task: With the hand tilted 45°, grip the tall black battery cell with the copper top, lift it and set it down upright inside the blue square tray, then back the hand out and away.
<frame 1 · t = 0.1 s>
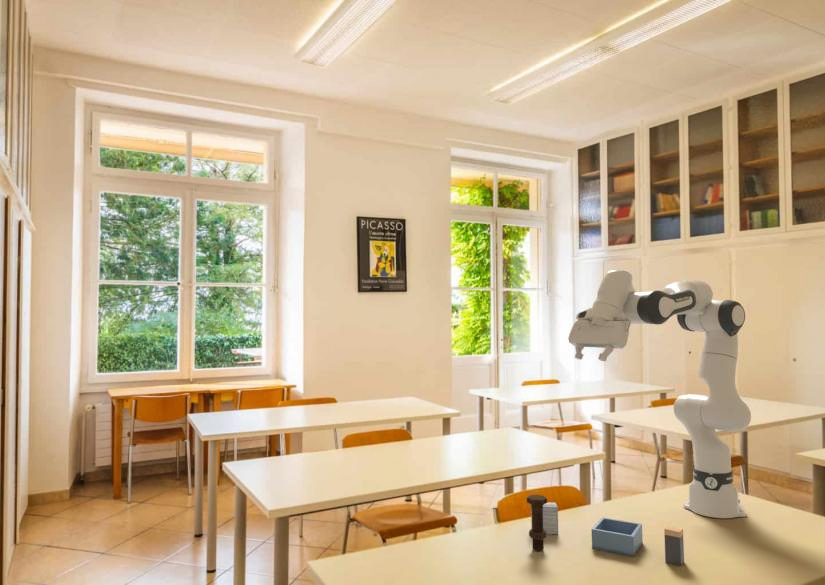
hand: (589, 359, 175), 54 cm above the table, tool tilted 30°, fingers open, 8 cm apart
battery cell: (674, 562, 160), on the table
medicine box: (544, 533, 184), on the table
bolt: (538, 550, 170), on the table
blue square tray: (617, 545, 172), on the table
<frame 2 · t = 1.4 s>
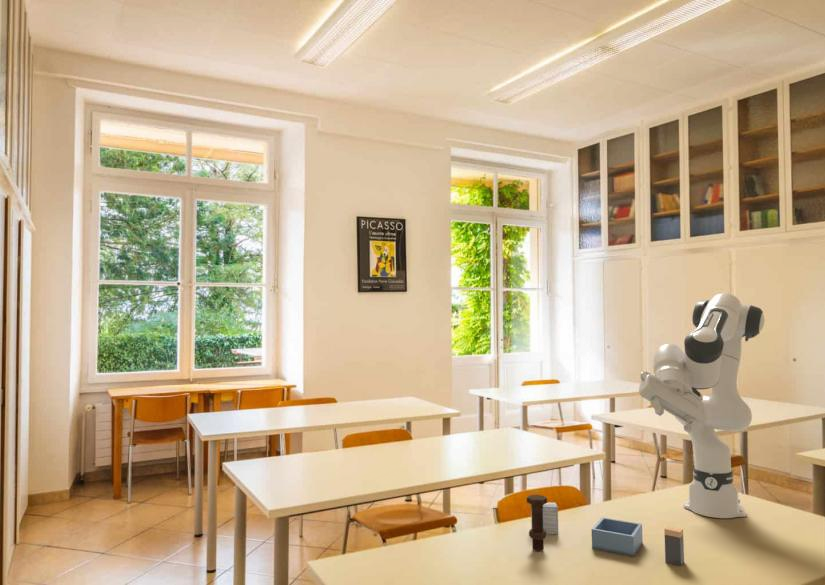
hand: (674, 422, 160), 38 cm above the table, tool tilted 55°, fingers open, 8 cm apart
nothing on the table moved.
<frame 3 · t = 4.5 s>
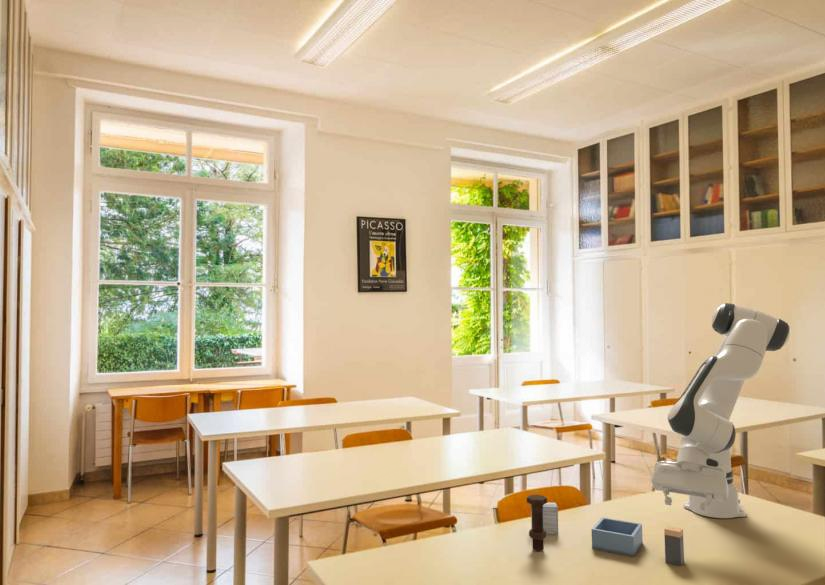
hand: (685, 507, 167), 13 cm above the table, tool tilted 45°, fingers open, 8 cm apart
nothing on the table moved.
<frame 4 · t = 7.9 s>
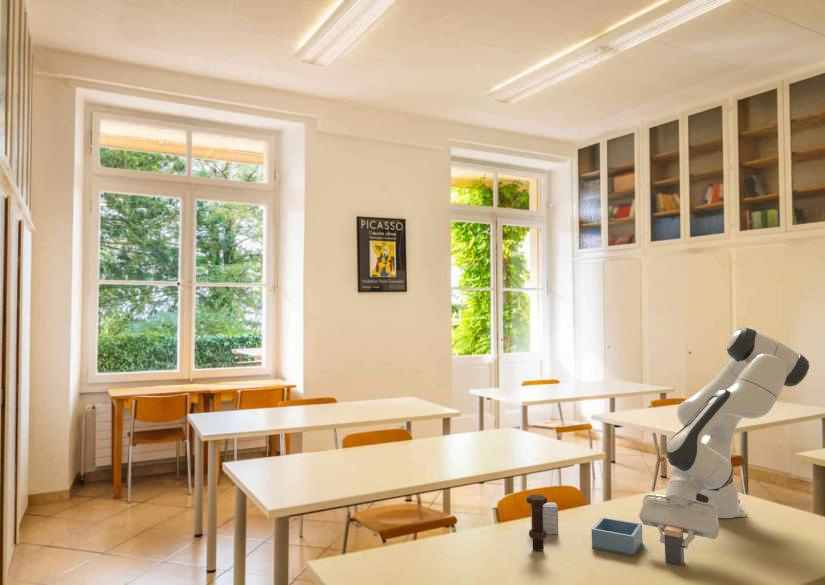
hand: (673, 544, 160), 5 cm above the table, tool tilted 45°, fingers closed on battery cell, 4 cm apart
battery cell: (674, 562, 160), on the table, touching gripper
everything else where it was.
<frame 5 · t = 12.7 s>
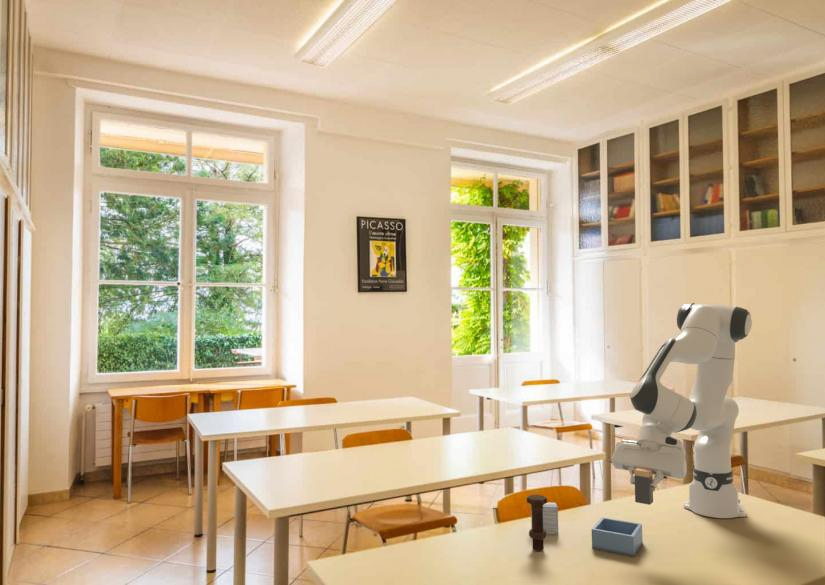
hand: (643, 485, 166), 19 cm above the table, tool tilted 45°, fingers closed on battery cell, 4 cm apart
battery cell: (644, 502, 167), point 14 cm above the table, touching gripper
everything else where it was.
when the fingers open (7 cm above the table, at t = 17.4 s): battery cell drops 1 cm, resting on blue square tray.
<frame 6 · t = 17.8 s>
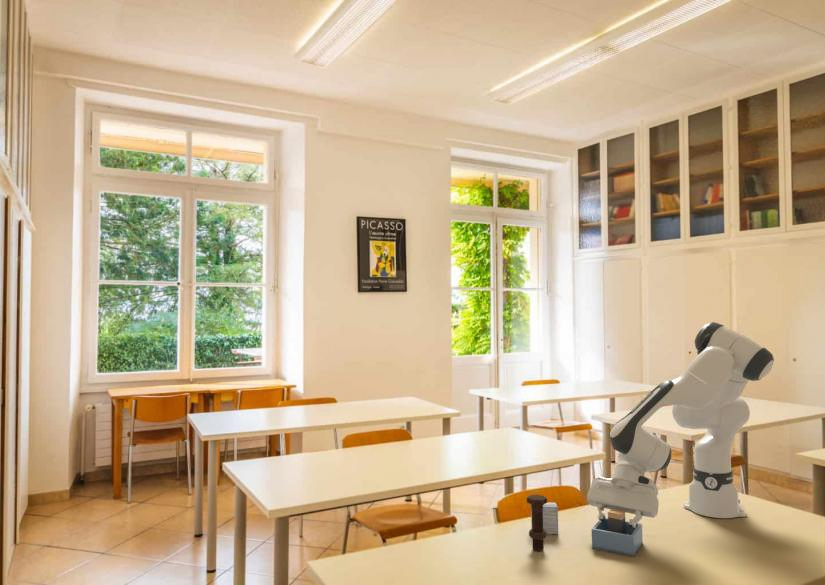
hand: (616, 523, 172), 7 cm above the table, tool tilted 45°, fingers open, 8 cm apart
battery cell: (617, 543, 172), point 1 cm above the table, touching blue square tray
everything else where it was.
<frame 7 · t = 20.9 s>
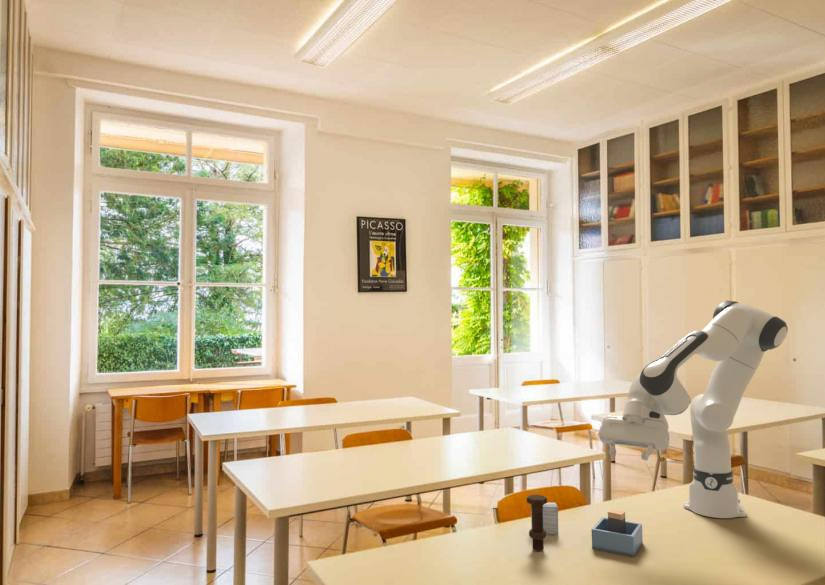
hand: (627, 456, 174), 25 cm above the table, tool tilted 45°, fingers open, 8 cm apart
nothing on the table moved.
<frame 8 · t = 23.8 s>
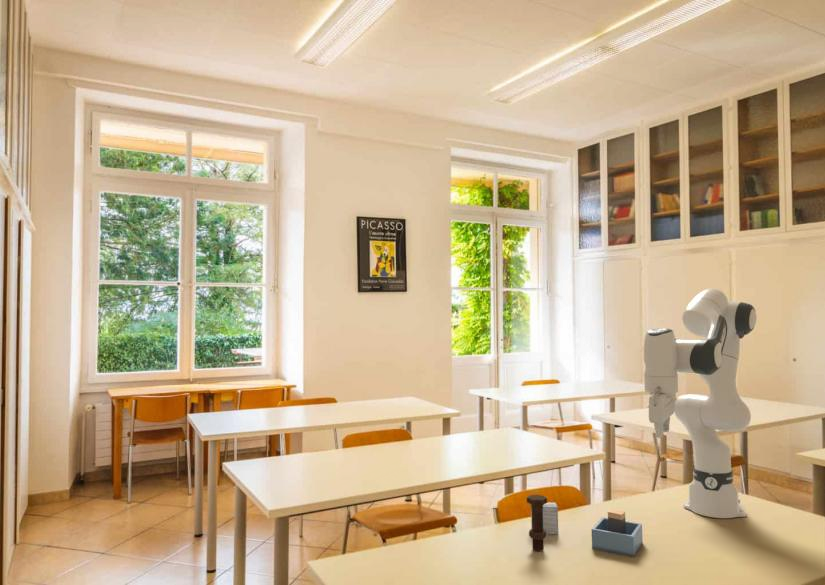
hand: (662, 434, 168), 33 cm above the table, tool pointing down, fingers open, 8 cm apart
nothing on the table moved.
at the end: battery cell inside the target area on the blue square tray (0.0 cm from its centre), point 0.8 cm above the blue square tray's base; battery cell tilted 0°; the gripper is holding nothing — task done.
